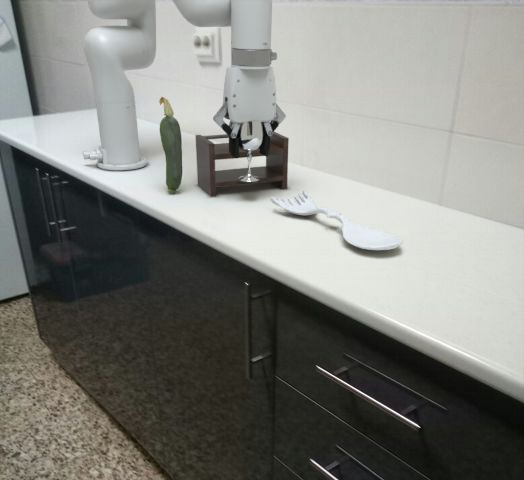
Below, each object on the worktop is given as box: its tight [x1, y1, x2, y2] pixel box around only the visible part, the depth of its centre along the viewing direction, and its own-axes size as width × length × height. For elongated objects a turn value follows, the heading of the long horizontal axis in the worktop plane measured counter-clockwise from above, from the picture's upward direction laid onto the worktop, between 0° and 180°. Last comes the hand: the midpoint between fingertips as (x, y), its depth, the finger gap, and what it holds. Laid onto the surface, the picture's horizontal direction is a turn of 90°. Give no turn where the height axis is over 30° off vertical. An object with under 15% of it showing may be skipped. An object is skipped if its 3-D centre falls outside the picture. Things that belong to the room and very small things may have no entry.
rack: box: [194, 131, 290, 198], centre depth 132 cm, size 18×10×11 cm, turn 112°
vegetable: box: [158, 96, 183, 194], centre depth 124 cm, size 4×4×20 cm
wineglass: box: [237, 121, 264, 182], centre depth 120 cm, size 6×6×12 cm
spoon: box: [269, 190, 404, 251], centre depth 109 cm, size 9×32×4 cm, turn 32°
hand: (249, 154), depth 121 cm, fingers closed on wineglass, 5 cm apart
